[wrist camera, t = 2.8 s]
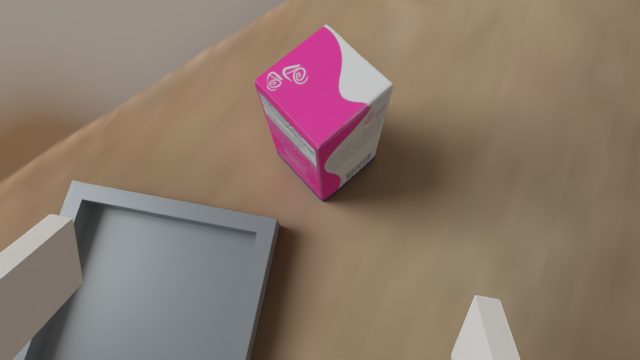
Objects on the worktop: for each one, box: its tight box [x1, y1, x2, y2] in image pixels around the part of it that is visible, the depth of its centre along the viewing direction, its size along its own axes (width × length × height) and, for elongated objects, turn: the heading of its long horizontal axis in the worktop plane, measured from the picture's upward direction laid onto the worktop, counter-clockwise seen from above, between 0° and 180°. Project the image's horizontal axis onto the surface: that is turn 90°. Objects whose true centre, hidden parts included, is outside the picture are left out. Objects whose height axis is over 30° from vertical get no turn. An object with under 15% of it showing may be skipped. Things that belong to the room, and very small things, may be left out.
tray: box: [12, 181, 280, 360], centre depth 30 cm, size 15×15×2 cm
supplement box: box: [254, 25, 393, 201], centre depth 29 cm, size 6×6×11 cm
